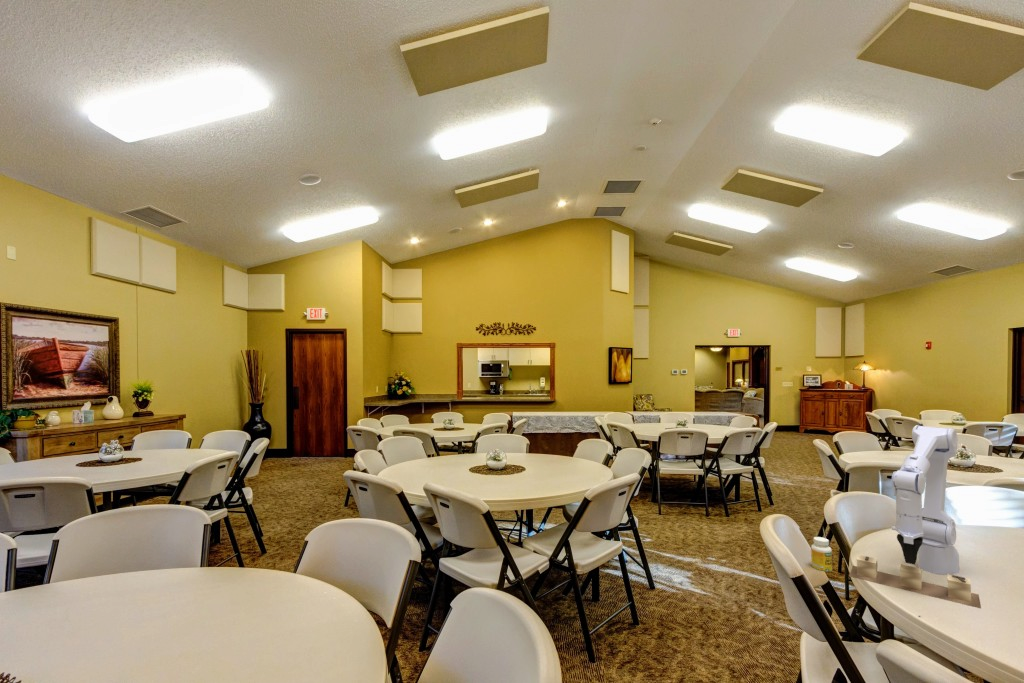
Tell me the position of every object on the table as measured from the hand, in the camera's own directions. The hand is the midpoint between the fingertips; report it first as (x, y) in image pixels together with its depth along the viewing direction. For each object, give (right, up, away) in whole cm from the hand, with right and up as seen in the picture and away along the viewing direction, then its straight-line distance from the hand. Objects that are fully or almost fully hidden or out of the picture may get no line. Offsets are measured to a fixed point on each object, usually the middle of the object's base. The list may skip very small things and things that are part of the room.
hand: (910, 562), depth 137 cm
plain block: (0, -6, 0) cm, 6 cm away
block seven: (+8, -6, -7) cm, 12 cm away
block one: (-7, -6, +6) cm, 12 cm away
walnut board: (0, -7, 0) cm, 7 cm away
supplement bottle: (-18, -8, +11) cm, 22 cm away
